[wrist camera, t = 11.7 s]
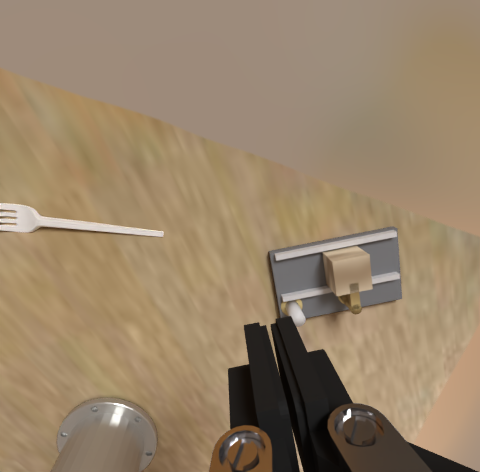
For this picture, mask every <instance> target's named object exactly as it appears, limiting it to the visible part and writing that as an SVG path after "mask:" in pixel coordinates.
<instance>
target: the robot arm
mask: <svg viewBox="0 0 480 472" xmlns="http://www.w3.org/2000/svg"><path fill="white" fill-rule="evenodd" d="M271 330H272V336H273V341H274V346H275V352H276V357H277V363H278V368H279V372H278V368H277V364H276V361H275V357H274V353H273V350H272V346H271V342H270V339H269V335H268V331H267V328H266V325H265V326H260V325H259V322H258V323H253V324H248V325H244V331H245V338H246V345H247V352H248V359H249V364H248V365H243V366H238V367H233V368H229V369H228V380H229V404H230V429H231V430H229V431H227V432H226V433H225V434H223V435H222V436H221V437H220V438H219V440H218V441H217V443H216V444H215V447H214V450H213V453H212V458H211V464H210V469H209V472H300V470H299V465H298V459H297V454H296V448H295V443H294V437H295V441H296V444H297V448H298V452H299V456H300V459H301V463H302V467H303V471H304V472H478V471H475V470H473V469H471V468H468V467H465V466H463V465H461V464H459V463H456V462H454V461H452V460H449V459H447V458H444V457H442V456H440V455H437V454H435V453H433V452H430V451H428V450H425V449H423V448H421V447H418V446H416V445H414V444H411V443H409V442H407V441H406V440H405V439H404V438H403V437H402V436H401V434H400V433H399V432H398V431H397V430H396V429H395V427H394V426H393V425H392V424H391V423H390V422H389V420H388V419H387V418H386V417H385V416H384V415H383V414H382V413H381V412H380V411H378V410H377V409H375V408H373V407H371V406H368V405H364V404H358V403H353V402H352V400H351V399H350V397H349V395H348V393H347V391H346V389H345V387H344V385H343V384H342V382H341V380H340V378H339V376H338V374H337V372H336V371H335V369H334V367H333V365H332V363H331V361H330V359H329V357H328V356H327V354H326V352H325V351H324V350H323V349H322V350H317V351H312V352H307V350H306V348H305V346H304V344H303V341H302V339H301V337H300V335H299V332H298V330H297V328H296V326H295V323H294V321H293V319H292V317H291V316H288V317H283V318H278V319H276V323H275V324H271ZM279 374H280V376H279ZM292 429H293V432H292ZM293 433H294V437H293ZM157 441H158V436H157V430H156V427H155V424H154V422H153V421H152V419H151V418H150V416H149V415H148V414H147V413H146V412H145V411H144V410H142V409H141V408H140V407H138V406H137V405H135V404H133V403H131V402H128V401H125V400H122V399H116V398H98V399H93V400H90V401H87V402H84V403H82V404H80V405H78V406H77V407H75V408H74V409H73V410H72V411H71V412H69V414H68V415H67V416H66V418H65V419H64V421H63V423H62V424H61V426H60V428H59V431H58V434H57V447H58V451H59V453H60V454H59V456H58V458H57V460H56V462H55V464H54V466H53V467H52V469H51V471H50V472H141V471H143V470H144V469H145V468H146V467H147V466H148V465H149V464H150V462H151V461H152V459H153V457H154V455H155V451H156V447H157Z"/></svg>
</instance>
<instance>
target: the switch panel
mask: <svg viewBox="0 0 480 472" xmlns="http://www.w3.org/2000/svg"><path fill="white" fill-rule="evenodd" d="M351 246H358V247H359V248H361V249H362V250H364V251H365V252H367V253H368V254H370V265H371V276H372V287H373V289H371V290H366V291H361V292H359V295H360V304H361V307H364V306H369V305H373V304H378V303H383V302H388V301H393V300H398V299H402V291H401V276H400V262H399V247H398V233H397V228H395V227H388V228H383V229H378V230H373V231H368V232H363V233H358V234H353V235H348V236H343V237H338V238H333V239H328V240H322V241H317V242H312V243H307V244H302V245H297V246H292V247H287V248H282V249H277V250H272V251H269V256H270V262H271V267H272V273H273V279H274V285H275V290H276V296H277V302H278V308H279V313H280V318H283V317H288V316H291V317H292V319H293V321H294V323H295V326H296V327H299V326H302V325H303V324H304V323H305V320H306V319H305V318H309V317H314V316H319V315H324V314H329V313H334V312H339V311H344V310H349V308H348V307H347V306H346V305H345V304H344V302H343V301H342V300H341V298H340V296H336V295H335V294H334V293H333V291H332V290H331V289H330V288H329V287H328V285H327V284H326V277H325V269H324V262H323V254H322V252H326V251H331V250H336V249H341V248H346V247H351Z"/></svg>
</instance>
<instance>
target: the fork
mask: <svg viewBox="0 0 480 472" xmlns="http://www.w3.org/2000/svg"><path fill="white" fill-rule="evenodd" d="M0 209H4V210H14V211H16V213H9V212H0V216H11V217H17V219H0V223H16V224H17V225H16V226H14V225H0V230H2V231H13V232H26V233H27V232H33V231H36V230H37V229H38V228H40V227H54V228H67V229H79V230H91V231H103V232H114V233H125V234H136V235H146V236H157V237H163V231H155V230H147V229H139V228H131V227H123V226H116V225H108V224H101V223H94V222H86V221H77V220H68V219H59V218H51V217H43V216H41V215H39V214H38V212H37V211H36V210H35V209H33V208H31V207H29V206H25V205H18V204H9V203H0Z"/></svg>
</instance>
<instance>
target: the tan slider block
mask: <svg viewBox="0 0 480 472" xmlns="http://www.w3.org/2000/svg"><path fill="white" fill-rule="evenodd" d="M322 254H323V262H324V269H325V277H326V284H327V285H328V287H329V288H330V289H331V290H332V291H333V293H334V294H335V295H336V296H340V298H341V300H342V301H343V302H344V304H345V305H346V306H347V307H348V308H349V310H350V311H351V312H352V313H353V314H359V313H360V312H361V310H362V307H361V304H360V295H359V292H361V291H366V290H371V289H373V287H372V276H371V265H370V254H368V253H367V252H365V251H364V250H362V249H361V248H359V247H358V246H351V247H346V248H341V249H336V250H331V251H326V252H322Z"/></svg>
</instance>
